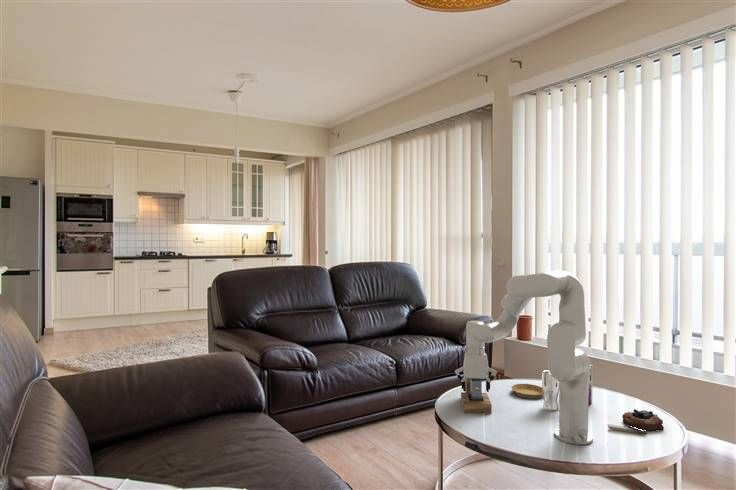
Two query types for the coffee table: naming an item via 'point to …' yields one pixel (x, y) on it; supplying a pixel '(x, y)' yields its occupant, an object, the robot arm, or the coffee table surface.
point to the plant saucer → (528, 390)
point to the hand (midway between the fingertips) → (475, 390)
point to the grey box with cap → (475, 390)
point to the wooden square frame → (475, 406)
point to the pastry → (643, 420)
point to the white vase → (550, 391)
